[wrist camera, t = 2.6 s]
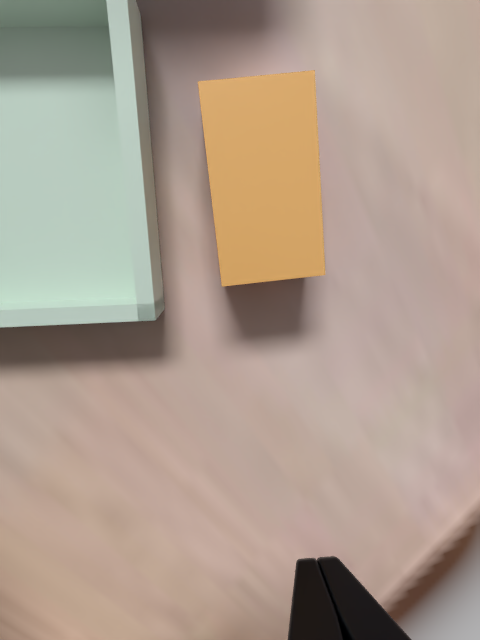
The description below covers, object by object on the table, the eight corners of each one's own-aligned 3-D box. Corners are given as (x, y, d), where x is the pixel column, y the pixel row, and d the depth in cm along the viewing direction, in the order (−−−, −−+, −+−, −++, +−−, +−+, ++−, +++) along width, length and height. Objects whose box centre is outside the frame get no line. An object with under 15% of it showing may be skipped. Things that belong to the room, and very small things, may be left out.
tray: (164, 308, 17) (155, 320, 15) (-32, 317, 17) (-74, 330, 14) (140, 14, 14) (124, -32, 12) (-93, 16, 14) (-159, -31, 12)
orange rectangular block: (304, 267, 17) (325, 275, 14) (221, 277, 17) (221, 286, 14) (294, 107, 16) (314, 70, 12) (202, 116, 16) (197, 81, 12)
